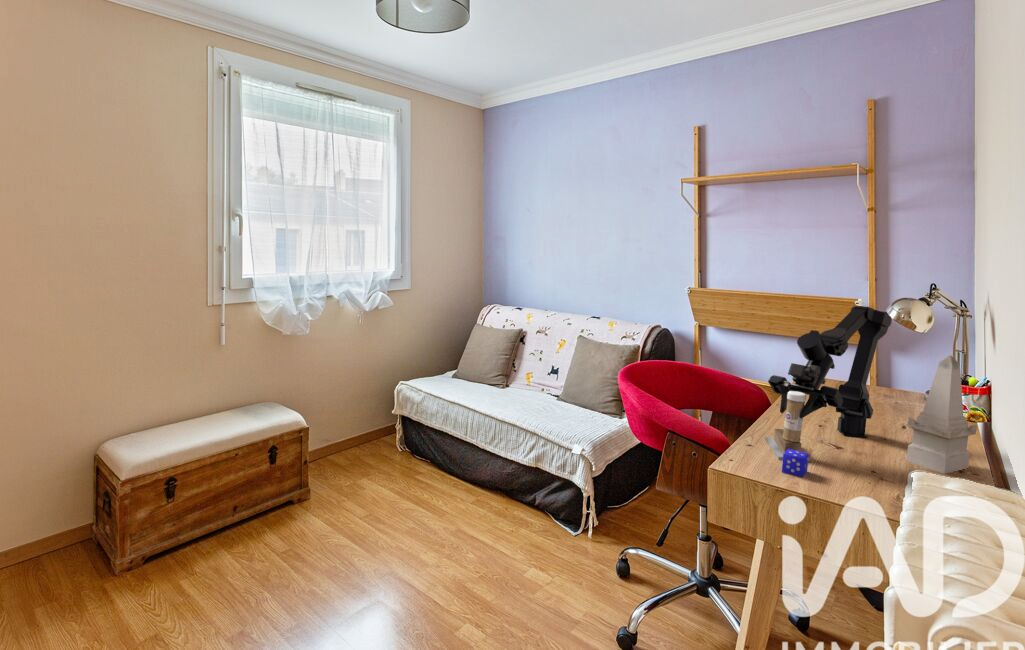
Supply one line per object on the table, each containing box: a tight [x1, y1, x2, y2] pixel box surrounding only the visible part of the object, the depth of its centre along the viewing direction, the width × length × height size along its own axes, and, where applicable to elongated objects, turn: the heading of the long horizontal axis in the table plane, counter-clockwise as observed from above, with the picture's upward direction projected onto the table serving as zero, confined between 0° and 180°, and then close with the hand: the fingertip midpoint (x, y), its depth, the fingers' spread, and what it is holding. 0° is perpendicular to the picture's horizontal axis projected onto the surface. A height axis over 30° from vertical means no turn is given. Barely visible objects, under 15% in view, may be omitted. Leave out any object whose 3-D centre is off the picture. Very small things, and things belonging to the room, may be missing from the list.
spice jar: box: [783, 391, 807, 442], centre depth 151 cm, size 5×5×13 cm
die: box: [781, 449, 810, 478], centre depth 141 cm, size 5×5×5 cm
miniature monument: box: [905, 354, 978, 475], centre depth 145 cm, size 10×10×30 cm
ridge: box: [764, 428, 812, 463], centre depth 156 cm, size 8×16×4 cm, turn 168°
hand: (790, 414), depth 150 cm, fingers open, 5 cm apart
